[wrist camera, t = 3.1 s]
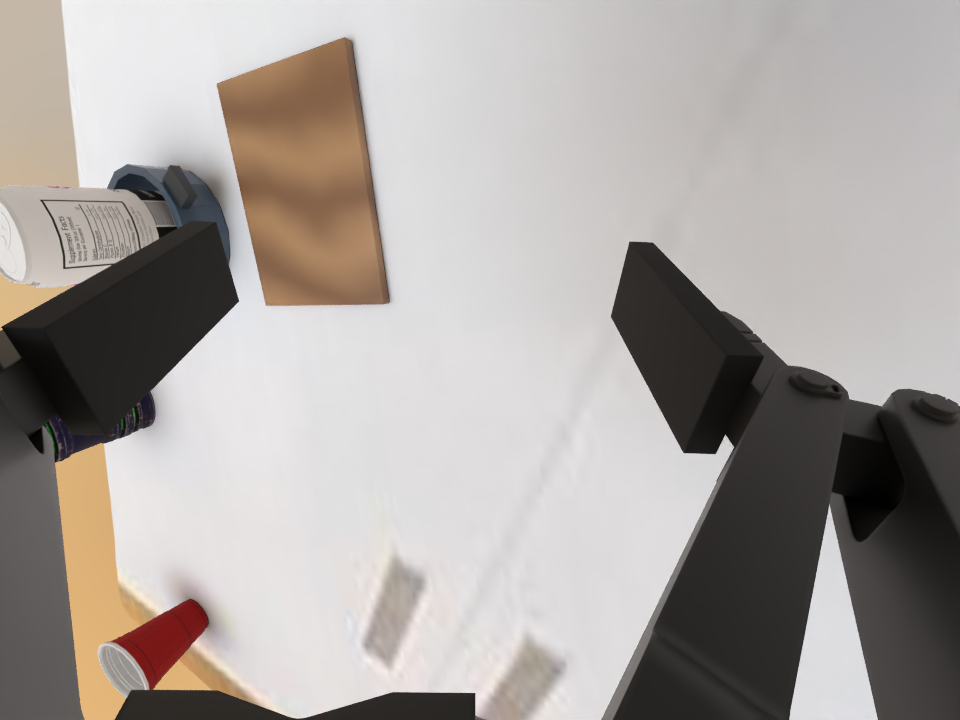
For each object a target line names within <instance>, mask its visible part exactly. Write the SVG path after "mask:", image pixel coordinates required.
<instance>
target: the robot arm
mask: <svg viewBox="0 0 960 720" xmlns="http://www.w3.org/2000/svg"><path fill="white" fill-rule="evenodd" d="M238 302H239V300H238V296H237V293H236V289H235V286H234V282H233V279H232V275H231V272H230V268H229V265H228V261H227V258H226V254H225V251H224V247H223V244H222V240H221V237H220V233H219V230H218V226H217V223H216V222H207V221H190V222H188V223H186V224H185V225H183V226H181V227H179V228H177V229H176V230H174V231H172V232H170V233H168V234H167V235H165V236H163V237H161V238H160V239H158V240H156V241H154V242H152V243H151V244H149V245H147V246H145V247H143V248H142V249H140V250H138V251H136V252H134V253H133V254H131V255H129V256H127V257H126V258H124V259H122V260H120V261H118V262H117V263H115V264H113V265H111V266H109V267H108V268H106V269H104V270H102V271H100V272H99V273H97V274H95V275H93V276H92V277H90V278H88V279H86V280H84V281H83V282H81V283H79V284H77V285H75V286H74V287H72V288H70V289H68V290H67V291H65V292H63V293H61V294H59V295H58V296H56V297H54V298H52V299H50V300H49V301H47V302H45V303H43V304H42V305H40V306H38V307H36V308H34V309H33V310H31V311H29V312H28V313H26V314H24V315H22V316H20V317H18V318H16V319H15V320H13V321H11V322H9V323H7V324H6V325H4V326H2V329H3V330H1V331H0V720H84V717H83V714H82V711H81V705H80V698H79V688H78V678H77V670H76V660H75V650H74V640H73V631H72V621H71V611H70V602H69V592H68V583H67V573H66V564H65V554H64V545H63V535H62V525H61V516H60V506H59V497H58V487H57V478H56V468H55V458H54V449H53V439H52V437H51V436H50V434H49V433H48V432H47V430H46V429H45V427H44V425H45V424H46V423H47V422H48V421H50V420H51V419H52V418H53V417H54V416H55V415H57V414H58V415H59V417H60V418H61V420H62V421H63V423H64V425H65V426H66V428H67V429H68V431H69V432H70V434H71V435H104V436H106V435H107V434H108V433H109V432H110V431H111V430H112V429H113V428H114V427H115V426H116V425H117V424H118V423H119V422H120V421H121V420H122V419H123V418H124V417H125V416H126V415H127V414H128V413H129V412H130V411H131V410H132V409H133V408H134V407H135V406H136V405H137V404H138V403H139V402H140V401H141V400H142V399H143V398H144V397H145V396H146V395H147V394H148V393H149V392H150V391H151V390H152V389H153V388H154V387H155V386H156V385H157V384H158V383H159V382H160V381H161V380H162V379H163V378H164V377H165V376H166V375H167V374H168V373H169V372H170V371H171V370H172V369H173V368H174V367H175V366H176V365H177V364H178V362H179V361H180V360H181V359H182V358H183V357H184V356H185V355H186V354H187V353H188V352H189V351H190V350H191V349H192V348H193V347H194V346H195V345H196V344H197V343H198V342H199V341H200V340H201V339H202V338H203V337H204V336H205V335H206V334H207V333H208V332H209V331H210V330H211V329H212V328H213V327H214V326H215V325H216V324H217V323H218V322H219V321H220V320H221V319H222V318H223V317H224V316H225V315H226V314H227V313H228V312H229V311H230V310H231V309H232V308H233V307H234V306H235V305H236V304H237V303H238ZM611 318H612V319H613V321H614V323H615V325H616V327H617V329H618V331H619V333H620V335H621V336H622V338H623V340H624V342H625V344H626V346H627V348H628V350H629V351H630V353H631V355H632V357H633V359H634V361H635V363H636V365H637V366H638V368H639V370H640V372H641V374H642V376H643V378H644V380H645V382H646V383H647V385H648V387H649V389H650V391H651V393H652V395H653V397H654V398H655V400H656V402H657V404H658V406H659V408H660V410H661V412H662V413H663V415H664V417H665V419H666V421H667V423H668V425H669V427H670V429H671V430H672V432H673V434H674V436H675V438H676V440H677V442H678V444H679V445H680V447H681V449H682V451H683V453H700V454H716V452H717V450H718V448H719V446H720V444H721V442H722V440H723V438H724V436H725V434H726V436H727V437H728V439H729V440H730V442H731V443H732V445H733V446H734V449H733V451H732V453H731V454H730V456H729V458H728V460H727V462H726V464H725V466H724V468H723V470H722V471H721V473H720V475H719V477H718V479H717V483H716V485H715V487H714V489H713V491H712V493H711V495H710V497H709V499H708V501H707V503H706V506H705V508H704V510H703V512H702V514H701V516H700V518H699V520H698V522H697V524H696V526H695V528H694V530H693V532H692V534H691V536H690V538H689V541H688V543H687V545H686V547H685V549H684V551H683V553H682V555H681V557H680V559H679V561H678V563H677V565H676V567H675V569H674V571H673V573H672V576H671V578H670V580H669V582H668V584H667V586H666V588H665V590H664V592H663V594H662V596H661V598H660V600H659V602H658V604H657V606H656V609H655V611H654V613H653V615H652V617H651V619H650V621H649V623H648V625H647V627H646V629H645V631H644V633H643V635H642V637H641V639H640V641H639V644H638V646H637V648H636V650H635V652H634V654H633V656H632V658H631V660H630V662H629V664H628V666H627V668H626V670H625V672H624V674H623V676H622V679H621V681H620V683H619V685H618V687H617V689H616V691H615V693H614V695H613V697H612V699H611V701H610V703H609V705H608V707H607V709H606V711H605V713H604V716H603V718H602V720H789V717H790V709H791V704H792V698H793V693H794V688H795V683H796V677H797V672H798V667H799V661H800V656H801V651H802V646H803V640H804V635H805V630H806V624H807V619H808V614H809V609H810V603H811V598H812V593H813V587H814V582H815V577H816V572H817V566H818V561H819V556H820V550H821V545H822V540H823V535H824V529H825V524H826V519H827V514H828V508H829V503H830V508H831V512H832V517H833V521H834V525H835V530H836V534H837V539H838V543H839V548H840V552H841V557H842V561H843V566H844V570H845V574H846V579H847V583H848V588H849V592H850V597H851V601H852V606H853V610H854V615H855V619H856V623H857V628H858V632H859V637H860V641H861V646H862V650H863V655H864V659H865V664H866V668H867V672H868V677H869V681H870V686H871V690H872V695H873V699H874V704H875V708H876V713H877V717H878V720H960V406H958V404H957V403H956V402H954V401H952V400H950V399H947V400H946V398H945V397H942V396H940V395H937V394H930V393H927V392H924V391H918V390H912V389H898V390H896V391H895V392H893V393H892V394H891V396H890V397H889V398H888V400H887V401H886V402H885V404H884V405H883V406H877V405H873V404H868V403H864V402H859V401H854V400H850V399H849V396H848V392H847V391H846V390H845V389H844V388H843V386H842V385H841V384H839V383H838V382H836V381H835V380H833V379H832V378H830V377H828V376H826V375H824V374H822V373H819V372H817V371H814V370H811V369H807V368H803V367H797V366H788V365H787V364H786V363H785V362H784V361H783V360H782V359H780V358H779V357H778V356H777V355H776V354H775V353H774V352H773V351H772V350H771V349H770V348H769V347H768V346H767V345H766V344H765V343H762V340H761V339H760V338H759V337H758V336H757V335H756V334H753V331H752V330H751V329H750V328H749V327H748V326H747V325H746V324H744V323H743V322H742V321H741V320H739V319H737V318H736V317H734V316H732V315H730V314H728V313H727V312H723V311H719V310H718V309H717V308H716V307H715V306H714V305H713V303H712V302H711V301H710V300H709V299H708V298H707V297H706V296H705V295H704V294H703V293H702V292H701V291H700V290H699V289H698V288H697V287H696V286H695V285H694V284H693V283H692V282H691V281H690V280H689V279H688V278H687V277H686V276H685V275H684V274H683V273H682V272H681V271H680V270H679V269H678V268H677V267H676V266H675V265H674V264H673V263H672V262H671V261H670V260H669V259H668V258H667V257H666V256H665V255H664V254H663V253H662V252H661V250H660V249H659V248H658V247H657V246H656V245H655V244H654V243H648V242H629V246H628V250H627V254H626V258H625V262H624V266H623V270H622V274H621V278H620V282H619V286H618V290H617V294H616V298H615V302H614V306H613V310H612V314H611ZM115 720H485V719H482V718H480V717H477V716H475V693H407V692H392V693H389V694H385V695H382V696H379V697H375V698H372V699H369V700H365V701H362V702H358V703H355V704H352V705H348V706H345V707H341V708H338V709H335V710H331V711H328V712H324V713H321V714H318V715H314V716H311V717H307V718H302V719H296V718H290V717H287V716H285V715H282V714H279V713H277V712H274V711H271V710H268V709H266V708H263V707H260V706H258V705H255V704H252V703H249V702H247V701H244V700H241V699H239V698H236V697H233V696H230V695H228V694H225V693H222V692H220V691H208V690H207V691H205V690H131V691H130V693H129V695H128V696H127V698H126V700H125V702H124V704H123V706H122V708H121V710H120V711H119V713H118V715H117V717H116V718H115Z"/></svg>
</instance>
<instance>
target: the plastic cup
mask: <svg viewBox="0 0 960 720" xmlns="http://www.w3.org/2000/svg"><path fill="white" fill-rule="evenodd" d="M207 626H208V618H207V616H206V614H205V612H204V611H203V609H202V608H201V607H200V605H199V604H198V603H196V602H195V601H193V600H190V599H189V600H187V601H185V602H183V603H181V604H179V605H178V606H176V607H174V608H172V609H171V610H169V611H166V612H164V613H163V614H161V615H159V616H157V617H156V618H154V619H152V620H150V621H149V622H147V623H145V624H143V625H142V626H140V627H138V628H136V629H135V630H133V631H131V632H129V633H127V634H125V635H123V636H122V637H119V638H117V639H115V640H113V641H110V642H106V643H104V644H102V645H100V646H99V649H98V657H99V662H100V665H101V667H102V669H103V671H104V673H105V675H106V676H107V678H108V679H109V681H110V682H111V684H112V685H113V686H114V687H115V688H116V689H117V690H118V691H119V692H120V693H121V694H122V695H123V696H124V697H126V698H127V696H128V695H129V693H130V691H131V690H153V689H154V688H155V686H156V684H157V683H158V682H159V681H160V680H161V678H162V677H163V676H164V675H165V674H166V672H167V671H168V670H169V669H170V668H171V667H172V666H173V665H174V664H175V663H176V662H177V661H178V659H179V658H180V657H181V656H182V655H183V654H184V653H185V652H186V651H187V650H188V649H189V647H190V646H191V644H192V643H193V642H194V641H195V640H196V639H197V638H198V637H199V636H200V635H201V634H202V633H203V632H204V630H205V629H206V628H207Z"/></svg>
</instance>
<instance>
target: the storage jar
mask: <svg viewBox="0 0 960 720" xmlns="http://www.w3.org/2000/svg"><path fill="white" fill-rule="evenodd" d="M154 419H155V407H154V402H153V399H152V396H151V393H150V392H149V393H148V394H147V395H146V396H145V397H144V398H143V399H142V400H141V401H140V402H139V403H138V404H137V405H136V406H135V407H134V408H133V409H132V410H131V411H130V412H129V413H128V414H127V415H126V416H125V417H124V418H123V419H122V420H121V421H120V422H119V423H118V424H117V425H116V426H115V427H114V428H113V429H112V430H111V431H110V432H109V433H108V434H107V435H106V436H104V435H71V434H70V432H69V431H68V429H67V428H66V426H65V425H64V423H63V421H62V420H61V418H60V417H59V415H58V414H57V415H55V416H54V417H53V418H52V419H51V420H50V421H48V422H47V423H46V424H45V425H44V427H45V429H46V430H47V432H48V433H49V434H50V436H51V437H52V439H53V449H54V458H55V462H58V461H63V460H64V459H66V458H68V457H70V455H71V454H74V453H76V452H79V451H81V450H84V449H87V448H89V447H92V446H94V445H97V444H99V443H108V442H110V441H113V440H115V439H119V438H122V437H125V436H128V435H130V434H131V433H133V432H136V431H138V430H139V429H141V428H146V427H149V426H151V425H152V423H153V422H154Z"/></svg>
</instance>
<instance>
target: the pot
mask: <svg viewBox="0 0 960 720" xmlns="http://www.w3.org/2000/svg"><path fill="white" fill-rule="evenodd" d="M107 189H123V190H146V191H160V192H161V194H162V196H163V197H164V199H165V200H166V202H167V204H168V205H169V207H170V208H171V210H172V213H173V216H174V219H175V222H176V225H177V228H179V227H181V226H183V225H185V224H186V223H188V222H190V221H207V222H216V223H217V226H218V230H219V233H220V237H221V240H222V244H223V247H224V251H225V254H226V258H227V261H228V262H229V258H230V249H229V234H228V229H227V226H226V223H225V220H224V217H223V213H222V210H221V207H220V205H219V204H218V202H217V201H216V199H215V197H214V196H213V194H212V193H211V191H210V189H209V188H208V186H207V185H206V184H205V183H204V182H203V181H201V180H200V179H199V178H198V177H197V176H195V175H194V174H193V173H192V172H190V171H185V170H182V169H181V168H180V166H172V165H170V166H169V168H164V167H153V166H141V165H130V164H127V165H125V166H124V167H122V168H120V169H118V170H117V171H115V172H114V174H113V176H112V178H111V181H110V183H109V185H108V187H107Z"/></svg>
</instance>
